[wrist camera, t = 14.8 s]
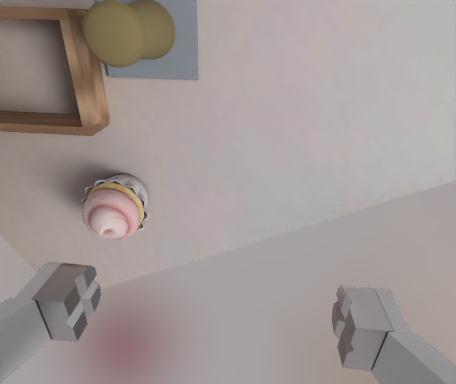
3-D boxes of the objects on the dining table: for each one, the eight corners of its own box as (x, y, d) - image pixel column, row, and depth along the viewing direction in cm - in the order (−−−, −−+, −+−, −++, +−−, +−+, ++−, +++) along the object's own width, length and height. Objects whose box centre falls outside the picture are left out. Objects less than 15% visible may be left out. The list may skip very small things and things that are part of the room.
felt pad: (92, -34, 32) (90, -35, 32) (195, -33, 32) (194, -34, 31) (109, 76, 38) (108, 76, 37) (198, 79, 37) (197, 79, 37)
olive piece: (115, 41, 35) (62, 51, 26) (133, -14, 33) (81, -25, 23) (162, 69, 36) (128, 89, 27) (184, 19, 34) (154, 21, 24)
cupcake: (116, 224, 49) (85, 268, 40) (86, 173, 45) (44, 210, 36) (169, 211, 47) (148, 254, 38) (142, 156, 43) (112, 191, 34)
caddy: (-59, 6, 36) (-103, 4, 31) (90, 9, 34) (66, 8, 30) (-18, 117, 42) (-49, 128, 38) (110, 123, 41) (92, 135, 36)
